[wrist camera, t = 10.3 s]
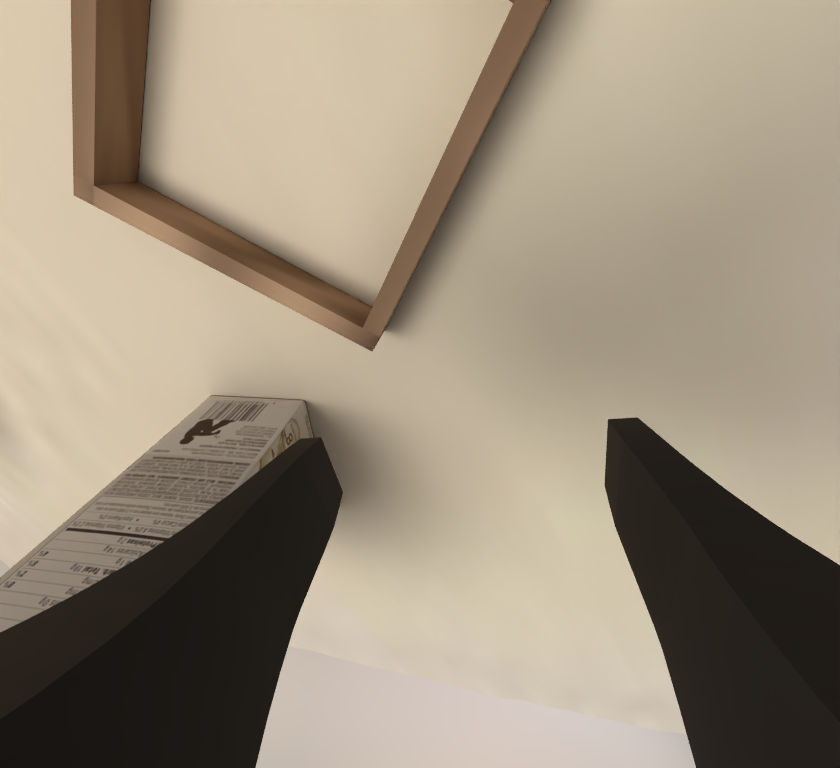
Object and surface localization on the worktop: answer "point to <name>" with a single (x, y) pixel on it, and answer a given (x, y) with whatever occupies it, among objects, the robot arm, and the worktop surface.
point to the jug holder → (210, 243)
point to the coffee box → (154, 499)
